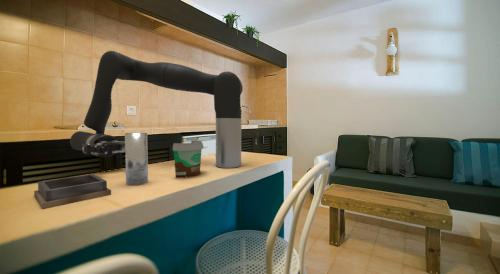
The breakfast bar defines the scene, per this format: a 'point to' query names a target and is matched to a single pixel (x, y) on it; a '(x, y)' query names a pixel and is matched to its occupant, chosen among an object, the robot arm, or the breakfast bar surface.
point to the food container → (187, 158)
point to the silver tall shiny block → (136, 158)
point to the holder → (70, 190)
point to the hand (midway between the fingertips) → (120, 149)
